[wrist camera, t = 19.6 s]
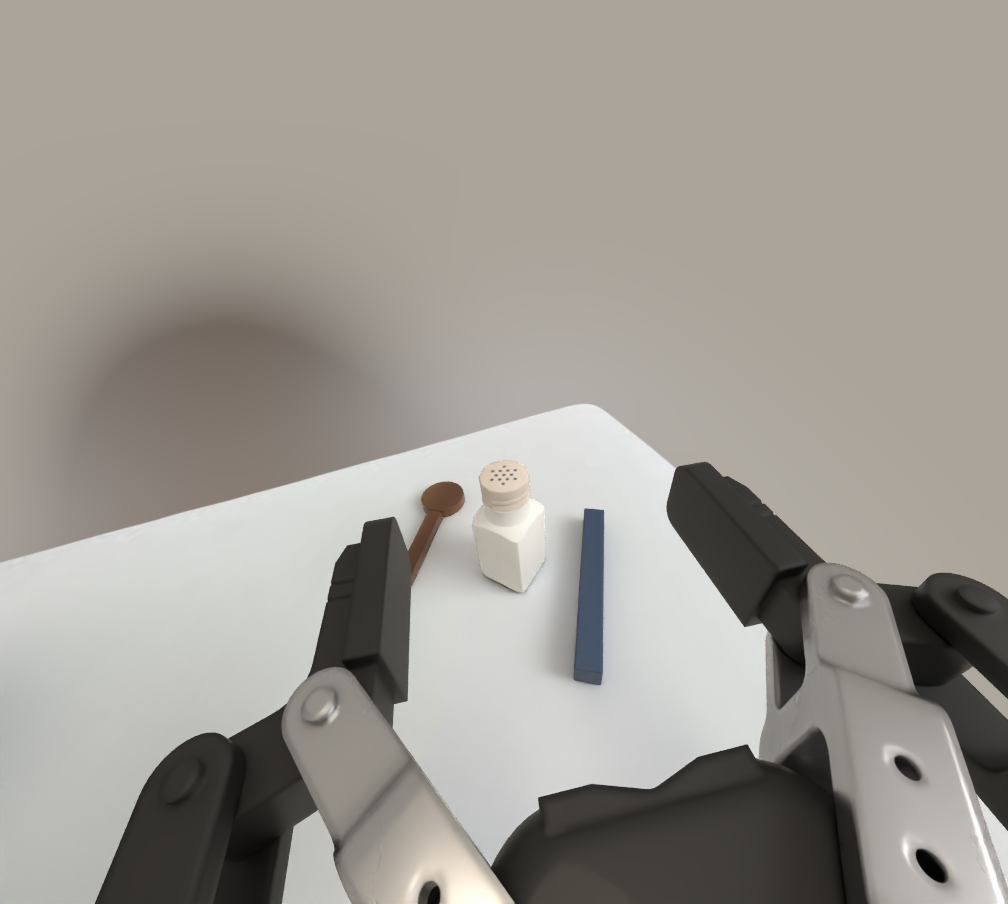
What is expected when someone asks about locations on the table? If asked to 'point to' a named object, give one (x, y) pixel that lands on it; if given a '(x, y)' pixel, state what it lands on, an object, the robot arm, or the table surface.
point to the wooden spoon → (434, 518)
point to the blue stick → (590, 601)
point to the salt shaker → (509, 526)
